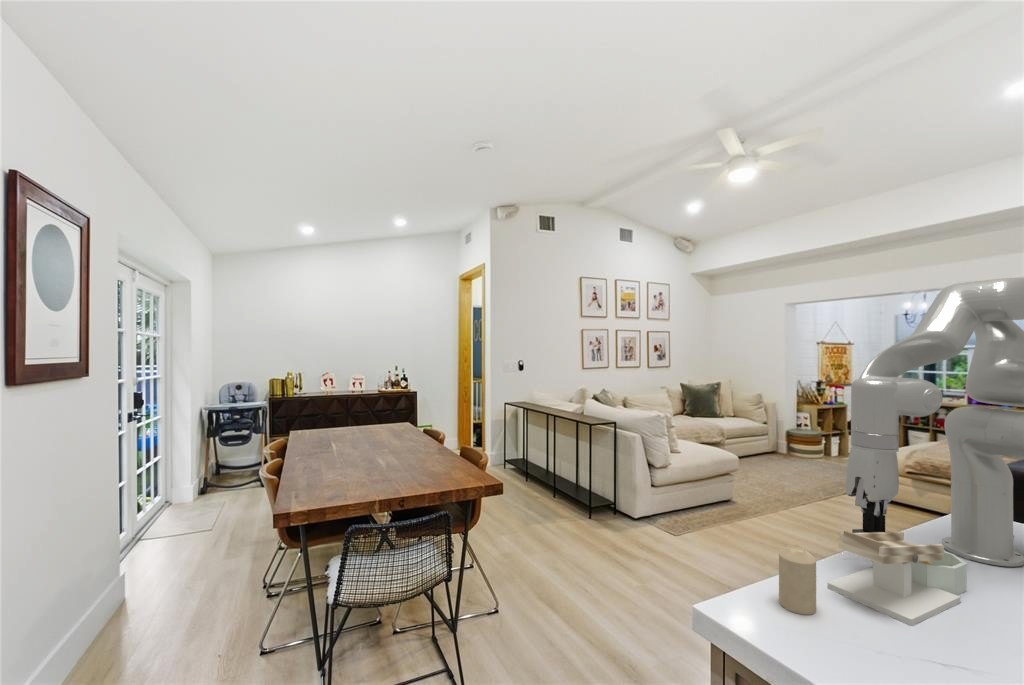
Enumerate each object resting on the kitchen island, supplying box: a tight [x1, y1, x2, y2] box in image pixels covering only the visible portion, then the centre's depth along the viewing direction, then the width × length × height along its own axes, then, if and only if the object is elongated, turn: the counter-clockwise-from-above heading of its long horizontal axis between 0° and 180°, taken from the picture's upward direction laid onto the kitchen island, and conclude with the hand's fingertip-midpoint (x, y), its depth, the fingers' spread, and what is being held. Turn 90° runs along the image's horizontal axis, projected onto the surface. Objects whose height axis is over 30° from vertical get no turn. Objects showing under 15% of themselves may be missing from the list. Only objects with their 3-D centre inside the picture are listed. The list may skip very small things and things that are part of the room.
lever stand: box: [826, 561, 961, 626], centre depth 84 cm, size 16×13×7 cm
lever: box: [838, 528, 945, 564], centre depth 87 cm, size 20×13×3 cm, turn 115°
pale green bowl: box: [911, 550, 968, 596], centre depth 90 cm, size 10×10×5 cm
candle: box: [778, 544, 817, 616], centre depth 81 cm, size 6×6×10 cm
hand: (873, 533), depth 93 cm, fingers closed
